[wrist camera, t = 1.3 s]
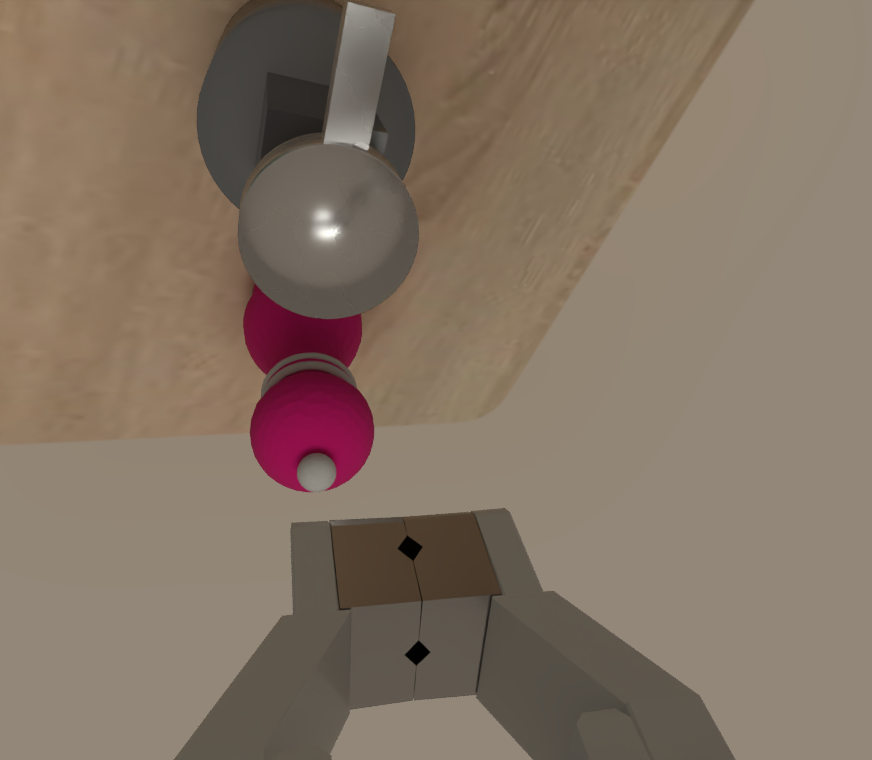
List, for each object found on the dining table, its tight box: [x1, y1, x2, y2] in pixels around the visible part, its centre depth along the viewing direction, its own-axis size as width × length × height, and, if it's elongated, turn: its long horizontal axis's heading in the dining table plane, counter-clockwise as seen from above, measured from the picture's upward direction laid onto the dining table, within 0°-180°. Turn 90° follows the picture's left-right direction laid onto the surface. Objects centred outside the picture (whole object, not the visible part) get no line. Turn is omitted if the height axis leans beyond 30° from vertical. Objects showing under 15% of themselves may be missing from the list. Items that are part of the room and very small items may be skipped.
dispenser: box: [197, 0, 415, 209], centre depth 35 cm, size 9×9×21 cm
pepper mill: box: [243, 284, 374, 492], centre depth 42 cm, size 7×7×20 cm
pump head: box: [238, 0, 419, 319], centre depth 24 cm, size 8×5×9 cm, turn 166°
